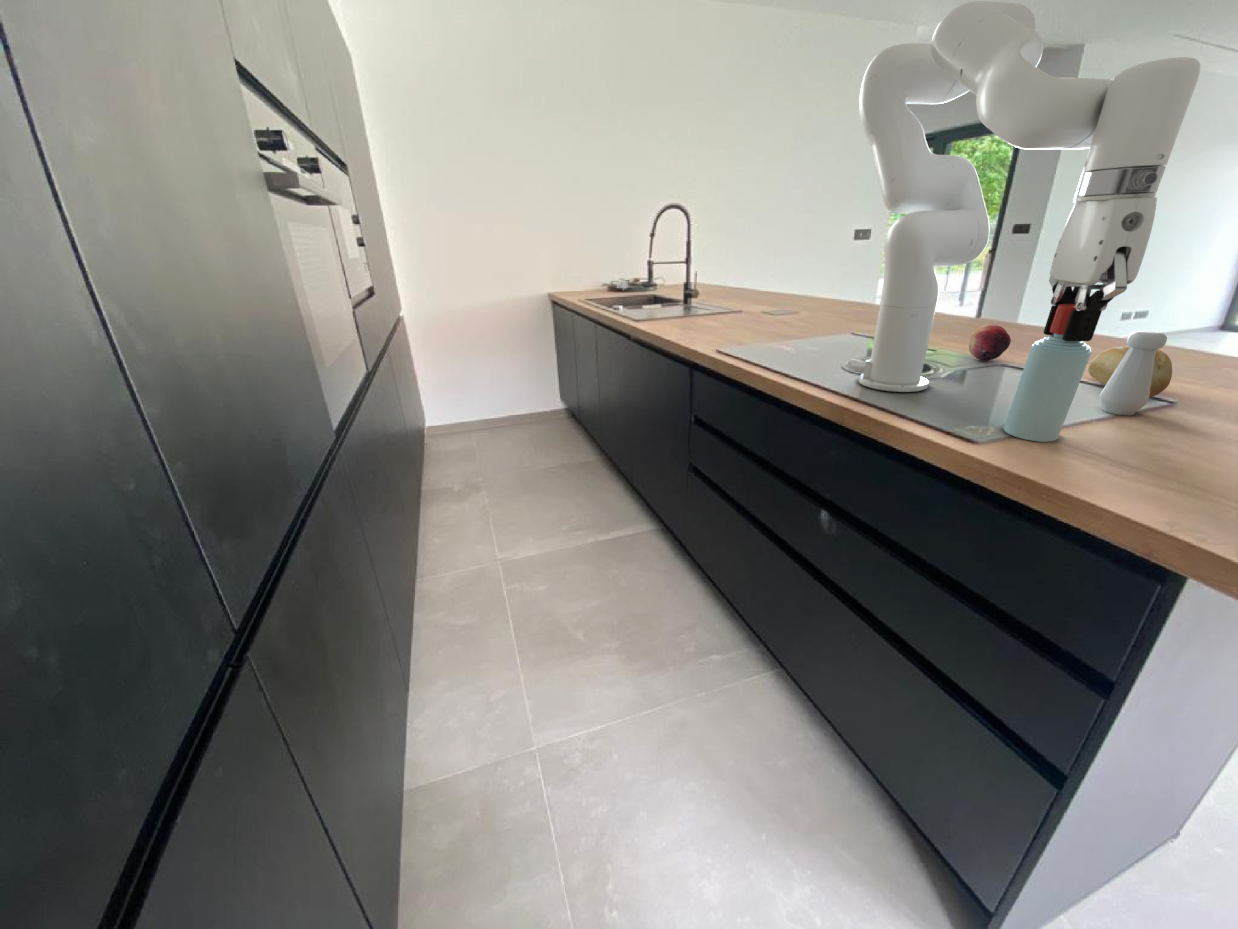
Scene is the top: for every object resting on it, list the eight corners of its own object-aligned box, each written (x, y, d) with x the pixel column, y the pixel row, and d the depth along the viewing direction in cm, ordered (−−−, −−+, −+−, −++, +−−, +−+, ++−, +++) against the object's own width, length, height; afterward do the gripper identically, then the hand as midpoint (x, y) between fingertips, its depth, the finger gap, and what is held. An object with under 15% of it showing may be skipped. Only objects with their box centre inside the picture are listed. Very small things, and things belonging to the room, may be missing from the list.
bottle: (1008, 438, 75) (1051, 314, 66) (999, 422, 80) (1038, 306, 72) (1063, 444, 72) (1115, 316, 64) (1050, 428, 77) (1096, 308, 69)
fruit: (985, 355, 121) (994, 321, 118) (1013, 362, 114) (1023, 326, 111) (956, 357, 120) (965, 323, 116) (983, 365, 113) (993, 329, 110)
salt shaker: (1151, 417, 80) (1187, 335, 75) (1109, 416, 81) (1142, 335, 76) (1126, 406, 85) (1157, 328, 80) (1087, 405, 86) (1115, 328, 81)
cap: (1068, 329, 71) (1077, 303, 69) (1092, 334, 68) (1102, 307, 66) (1042, 330, 71) (1051, 304, 69) (1065, 336, 67) (1075, 308, 66)
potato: (1126, 379, 99) (1142, 339, 96) (1182, 402, 86) (1203, 356, 83) (1069, 378, 101) (1083, 338, 98) (1115, 400, 88) (1133, 355, 85)
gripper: (1211, 179, 54) (1142, 350, 61) (1105, 190, 68) (1060, 327, 76) (1130, 183, 55) (1072, 350, 63) (1043, 193, 70) (1005, 327, 77)
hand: (1066, 336), depth 69 cm, fingers closed on cap, 3 cm apart
